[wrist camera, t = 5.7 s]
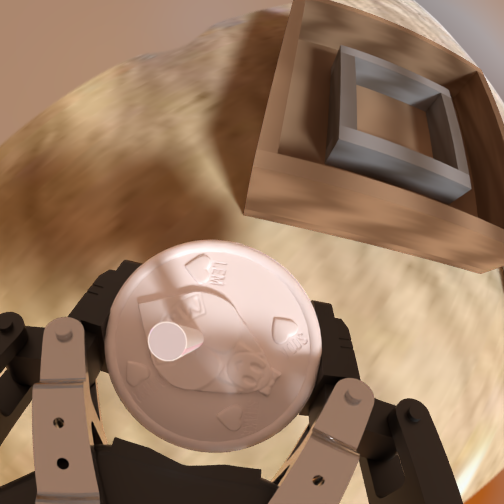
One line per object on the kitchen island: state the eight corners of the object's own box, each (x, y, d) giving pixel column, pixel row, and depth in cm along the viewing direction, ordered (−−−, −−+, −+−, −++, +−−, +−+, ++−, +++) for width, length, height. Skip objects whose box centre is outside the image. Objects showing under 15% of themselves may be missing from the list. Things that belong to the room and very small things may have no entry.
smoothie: (197, 268, 18) (152, 102, 5) (290, 322, 18) (455, 277, 5) (142, 358, 17) (-28, 393, 3) (236, 413, 16) (281, 578, 3)
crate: (243, 215, 20) (252, 166, 14) (284, 38, 25) (295, -9, 19) (480, 273, 20) (531, 255, 15) (454, 101, 26) (481, 69, 20)
